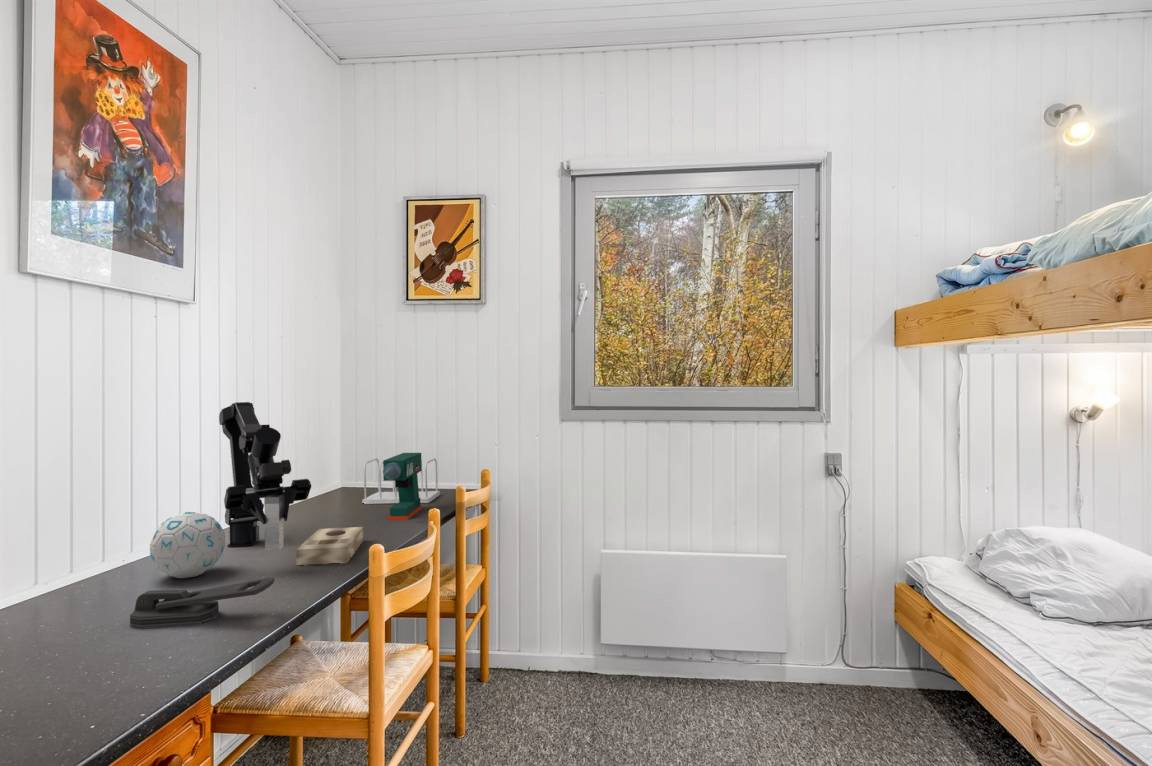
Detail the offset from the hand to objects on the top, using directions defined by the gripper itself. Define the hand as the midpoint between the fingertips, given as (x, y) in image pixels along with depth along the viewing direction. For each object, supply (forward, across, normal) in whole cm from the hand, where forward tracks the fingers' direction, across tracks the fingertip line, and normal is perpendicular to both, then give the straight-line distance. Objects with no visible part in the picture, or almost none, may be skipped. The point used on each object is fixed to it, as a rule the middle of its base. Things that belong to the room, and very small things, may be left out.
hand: (275, 521), depth 148 cm
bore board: (+2, +16, +15) cm, 22 cm away
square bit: (+4, 0, +6) cm, 7 cm away
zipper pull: (+24, -18, -6) cm, 31 cm away
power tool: (-17, +47, +35) cm, 61 cm away
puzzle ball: (+1, -16, +17) cm, 23 cm away
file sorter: (-38, +61, +56) cm, 92 cm away
